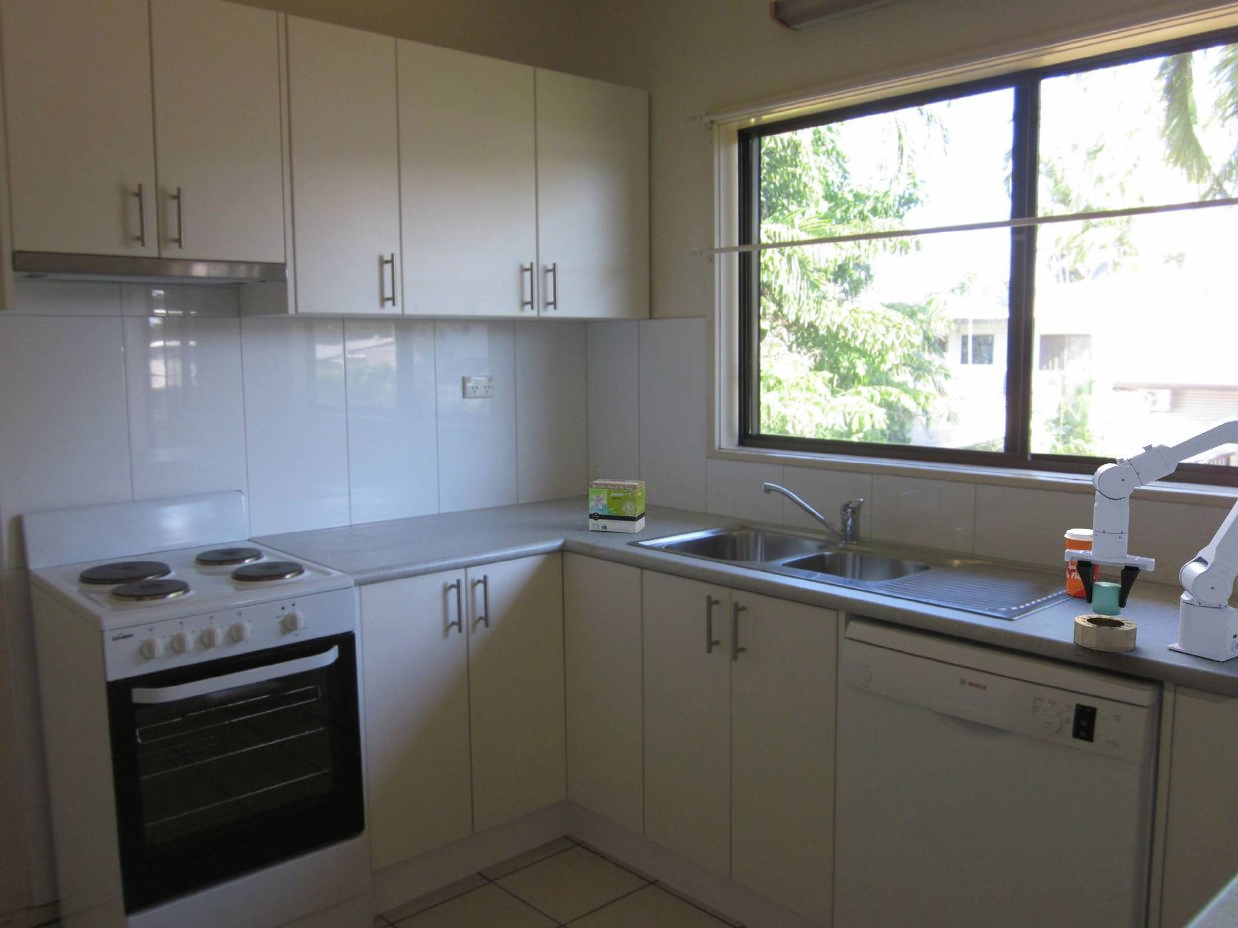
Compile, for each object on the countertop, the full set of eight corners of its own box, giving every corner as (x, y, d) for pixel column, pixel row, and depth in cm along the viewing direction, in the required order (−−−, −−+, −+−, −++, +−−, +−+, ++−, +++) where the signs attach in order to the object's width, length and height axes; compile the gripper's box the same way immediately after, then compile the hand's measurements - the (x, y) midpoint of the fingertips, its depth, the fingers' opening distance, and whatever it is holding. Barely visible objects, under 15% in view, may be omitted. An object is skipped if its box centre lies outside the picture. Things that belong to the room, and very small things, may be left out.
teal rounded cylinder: (1125, 612, 178) (1127, 585, 178) (1111, 617, 175) (1112, 589, 175) (1100, 607, 182) (1101, 580, 181) (1085, 611, 179) (1087, 584, 179)
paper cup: (1055, 594, 215) (1059, 531, 213) (1069, 588, 220) (1072, 526, 219) (1093, 600, 209) (1096, 536, 208) (1106, 594, 215) (1109, 531, 213)
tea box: (588, 531, 292) (587, 482, 290) (598, 525, 302) (598, 477, 300) (636, 533, 288) (636, 483, 286) (645, 527, 297) (645, 479, 296)
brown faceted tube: (1146, 645, 178) (1148, 624, 177) (1115, 655, 172) (1116, 633, 172) (1093, 632, 186) (1094, 611, 186) (1062, 641, 181) (1063, 620, 180)
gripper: (1159, 531, 176) (1154, 605, 177) (1072, 523, 184) (1068, 594, 186) (1152, 538, 170) (1148, 614, 172) (1063, 529, 179) (1059, 601, 180)
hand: (1106, 604), depth 179 cm, fingers closed on teal rounded cylinder, 5 cm apart
